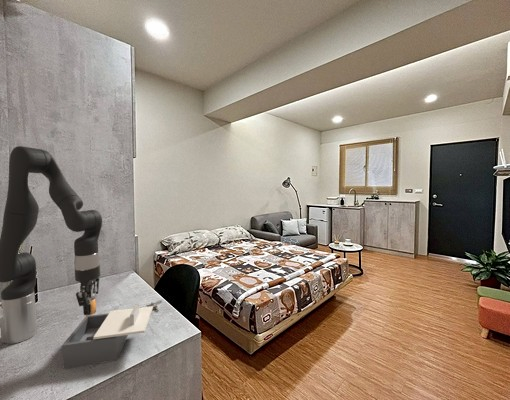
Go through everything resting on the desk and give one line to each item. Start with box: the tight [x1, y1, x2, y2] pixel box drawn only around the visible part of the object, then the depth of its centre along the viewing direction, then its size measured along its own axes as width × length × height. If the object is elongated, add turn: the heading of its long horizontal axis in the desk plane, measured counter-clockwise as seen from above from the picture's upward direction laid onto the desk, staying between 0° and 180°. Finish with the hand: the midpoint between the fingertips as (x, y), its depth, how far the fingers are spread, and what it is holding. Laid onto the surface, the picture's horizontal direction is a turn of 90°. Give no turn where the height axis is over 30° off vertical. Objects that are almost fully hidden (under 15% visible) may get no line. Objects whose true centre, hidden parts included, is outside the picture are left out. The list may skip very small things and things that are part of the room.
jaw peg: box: [84, 293, 97, 317], centre depth 88 cm, size 4×4×7 cm
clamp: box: [145, 300, 162, 312], centre depth 114 cm, size 15×2×10 cm
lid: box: [93, 303, 154, 340], centre depth 91 cm, size 16×17×5 cm
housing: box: [61, 312, 129, 369], centre depth 89 cm, size 16×18×8 cm
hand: (89, 311), depth 88 cm, fingers closed on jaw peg, 3 cm apart
